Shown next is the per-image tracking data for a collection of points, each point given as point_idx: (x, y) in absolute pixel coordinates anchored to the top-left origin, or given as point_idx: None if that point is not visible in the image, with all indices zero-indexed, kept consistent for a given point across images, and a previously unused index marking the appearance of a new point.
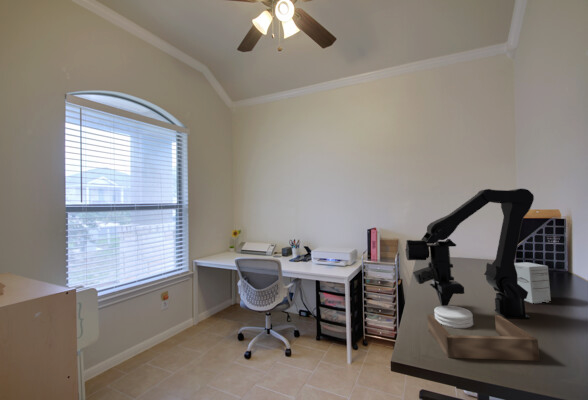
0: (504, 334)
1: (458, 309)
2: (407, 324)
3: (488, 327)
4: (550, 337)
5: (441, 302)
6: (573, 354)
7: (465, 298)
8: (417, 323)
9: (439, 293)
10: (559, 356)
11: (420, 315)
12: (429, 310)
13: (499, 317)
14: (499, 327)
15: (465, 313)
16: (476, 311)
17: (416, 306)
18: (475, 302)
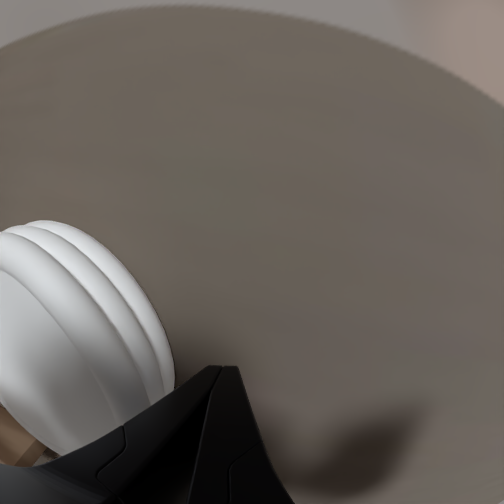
0: (7, 421)
1: (71, 430)
2: (12, 52)
3: None
4: None
5: (166, 399)
6: None
7: (481, 465)
8: (14, 98)
9: (64, 480)
10: None
11: (133, 106)
12: (299, 224)
13: (1, 462)
14: (15, 437)
15: (25, 418)
16: (289, 495)
17: (417, 115)
18: (422, 495)
